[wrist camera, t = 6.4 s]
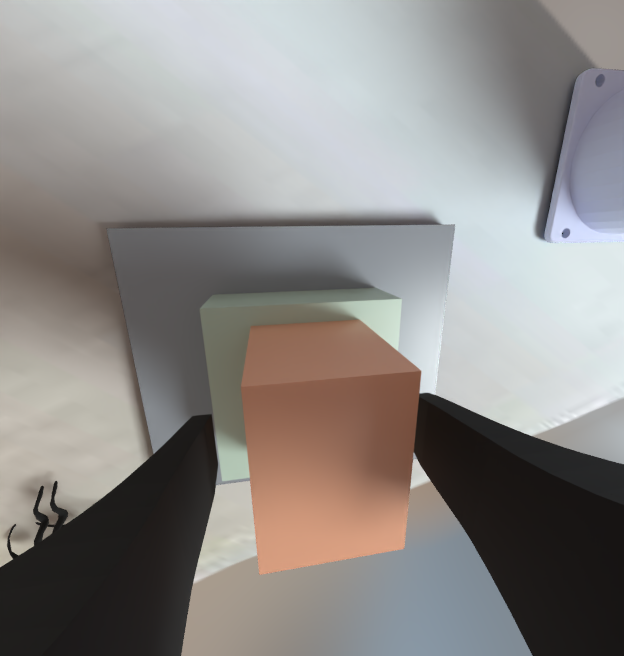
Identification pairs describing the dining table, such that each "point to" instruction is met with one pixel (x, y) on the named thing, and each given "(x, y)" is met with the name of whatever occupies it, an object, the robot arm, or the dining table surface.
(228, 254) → the tower base
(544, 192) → the dining table surface
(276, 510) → the top brick
